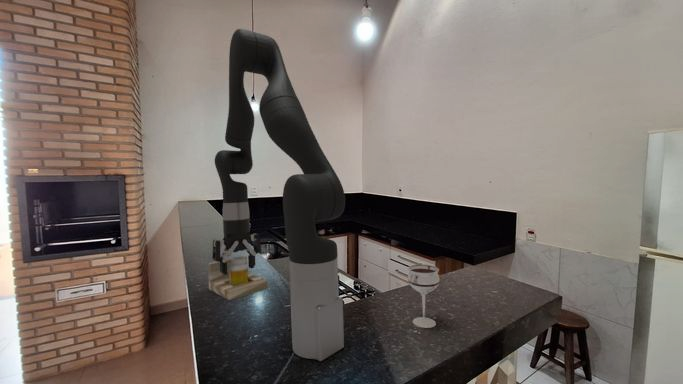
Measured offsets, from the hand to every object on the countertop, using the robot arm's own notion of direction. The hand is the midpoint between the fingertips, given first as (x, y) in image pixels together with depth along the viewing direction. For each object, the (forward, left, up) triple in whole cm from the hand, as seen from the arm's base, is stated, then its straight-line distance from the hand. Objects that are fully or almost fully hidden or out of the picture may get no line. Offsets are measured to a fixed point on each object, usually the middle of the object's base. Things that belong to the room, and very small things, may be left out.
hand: (238, 271), depth 89 cm
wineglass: (-52, -17, -6) cm, 55 cm away
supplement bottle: (0, 0, -6) cm, 6 cm away
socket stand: (0, 0, -6) cm, 6 cm away
